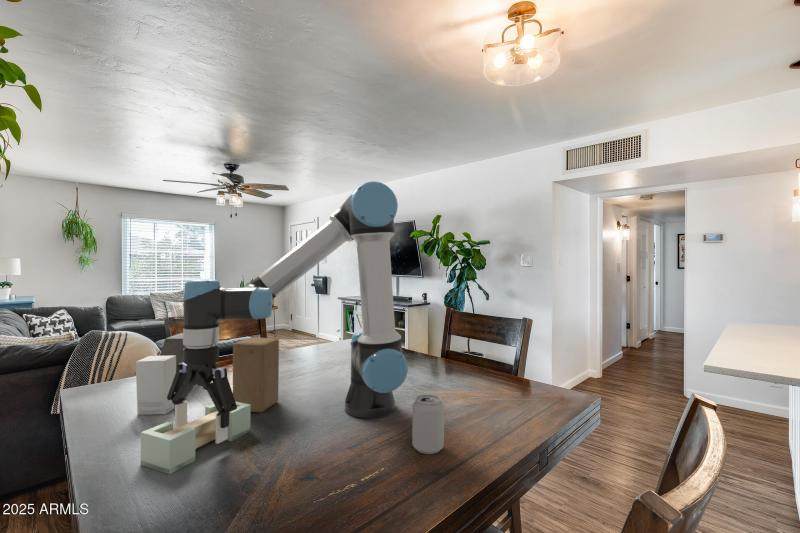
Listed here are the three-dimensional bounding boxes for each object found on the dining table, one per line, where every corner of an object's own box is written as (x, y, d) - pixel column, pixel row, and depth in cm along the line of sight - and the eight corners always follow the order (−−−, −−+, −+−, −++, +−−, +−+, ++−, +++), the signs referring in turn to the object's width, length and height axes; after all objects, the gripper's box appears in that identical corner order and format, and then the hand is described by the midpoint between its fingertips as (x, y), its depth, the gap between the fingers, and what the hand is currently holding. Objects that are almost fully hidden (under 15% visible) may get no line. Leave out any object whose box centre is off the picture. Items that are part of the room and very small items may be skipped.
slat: (221, 428, 98) (221, 408, 98) (231, 430, 97) (231, 411, 97) (160, 457, 83) (161, 434, 83) (171, 460, 82) (172, 437, 82)
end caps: (224, 425, 102) (224, 399, 102) (250, 431, 98) (250, 404, 98) (140, 464, 82) (140, 432, 82) (169, 474, 78) (169, 440, 78)
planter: (175, 383, 122) (193, 323, 133) (150, 383, 121) (170, 323, 132) (196, 397, 136) (210, 341, 147) (173, 397, 135) (190, 341, 147)
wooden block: (261, 414, 110) (262, 344, 110) (230, 410, 112) (231, 342, 112) (279, 401, 120) (280, 338, 120) (250, 399, 122) (251, 336, 122)
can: (424, 437, 96) (425, 390, 96) (449, 447, 92) (450, 397, 92) (405, 448, 91) (406, 398, 90) (431, 459, 86) (432, 406, 86)
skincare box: (177, 406, 115) (178, 354, 114) (164, 415, 108) (165, 360, 108) (149, 406, 114) (149, 354, 114) (134, 415, 108) (135, 360, 108)
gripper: (253, 347, 89) (252, 438, 89) (179, 337, 98) (178, 420, 98) (227, 354, 82) (226, 453, 82) (150, 343, 91) (149, 431, 92)
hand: (200, 435), depth 90 cm, fingers open, 13 cm apart
